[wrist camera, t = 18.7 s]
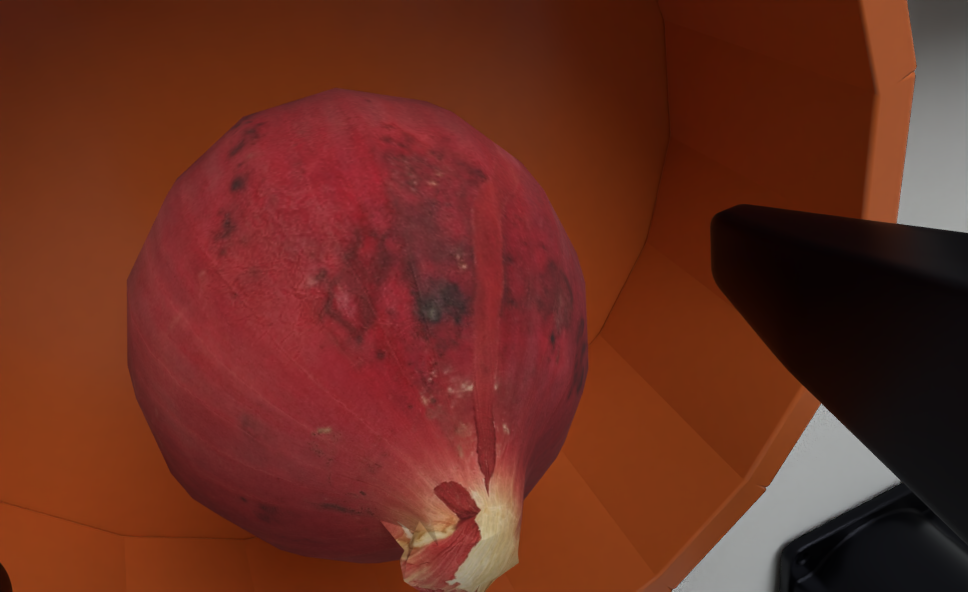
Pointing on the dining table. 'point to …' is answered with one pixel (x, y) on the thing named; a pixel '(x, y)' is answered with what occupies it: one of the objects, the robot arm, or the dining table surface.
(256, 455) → the onion
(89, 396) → the tin
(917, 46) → the dining table surface
